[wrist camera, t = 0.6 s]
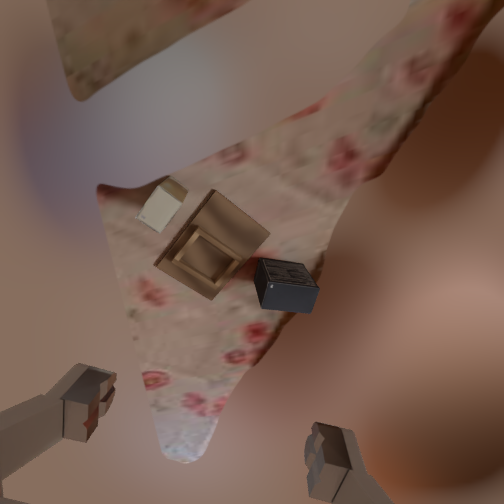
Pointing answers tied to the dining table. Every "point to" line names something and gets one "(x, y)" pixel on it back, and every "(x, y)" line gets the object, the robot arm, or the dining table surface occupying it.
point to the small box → (285, 286)
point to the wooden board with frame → (213, 247)
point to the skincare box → (162, 204)
